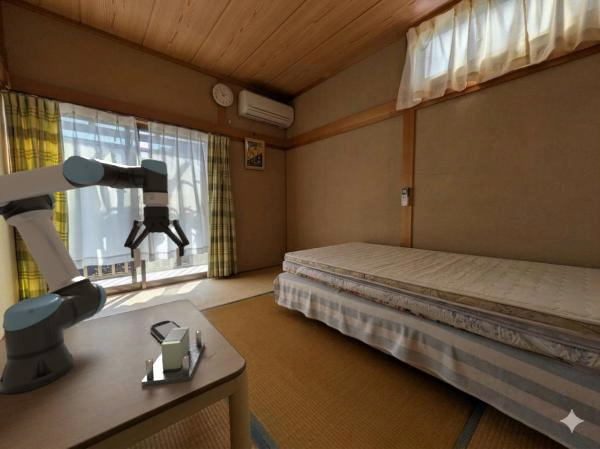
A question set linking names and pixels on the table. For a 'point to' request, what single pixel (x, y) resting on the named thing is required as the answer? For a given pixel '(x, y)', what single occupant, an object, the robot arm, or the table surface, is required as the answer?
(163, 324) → the gaming console
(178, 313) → the table surface
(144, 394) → the table surface
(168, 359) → the pale green block
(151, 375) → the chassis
